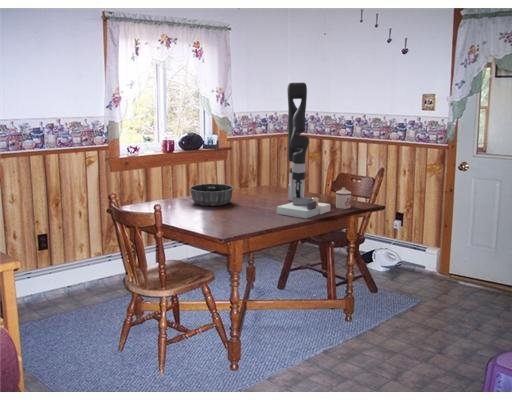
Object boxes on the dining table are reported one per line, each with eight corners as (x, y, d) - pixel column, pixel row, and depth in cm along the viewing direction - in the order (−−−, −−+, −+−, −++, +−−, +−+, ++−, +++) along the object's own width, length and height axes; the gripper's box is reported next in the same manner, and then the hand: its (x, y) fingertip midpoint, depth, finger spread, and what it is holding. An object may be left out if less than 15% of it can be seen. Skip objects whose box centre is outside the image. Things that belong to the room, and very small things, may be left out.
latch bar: (318, 204, 350) (318, 197, 349) (318, 205, 346) (318, 198, 345) (293, 203, 352) (293, 196, 352) (292, 204, 348) (292, 197, 348)
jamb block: (290, 209, 356) (290, 202, 355) (300, 206, 365) (300, 199, 364) (320, 214, 345) (320, 207, 344) (330, 210, 354) (330, 204, 353)
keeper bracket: (307, 209, 338) (307, 202, 337) (312, 207, 342) (313, 200, 342) (310, 210, 336) (310, 202, 336) (316, 208, 341) (316, 201, 340)
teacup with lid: (347, 209, 358) (348, 189, 355) (333, 207, 362) (333, 188, 360) (354, 206, 368) (355, 186, 366) (340, 204, 372) (341, 185, 370)
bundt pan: (213, 210, 354) (213, 193, 352) (180, 204, 369) (180, 187, 367) (242, 203, 374) (242, 186, 372) (209, 197, 390) (209, 182, 388)
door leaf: (276, 213, 345) (276, 206, 344) (289, 209, 355) (289, 203, 355) (306, 218, 334) (306, 211, 333) (318, 214, 345) (318, 207, 344)
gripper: (293, 168, 356) (292, 198, 360) (291, 172, 343) (290, 203, 347) (306, 169, 355) (305, 198, 359) (304, 173, 342) (304, 203, 346)
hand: (298, 200), depth 353 cm, fingers closed
